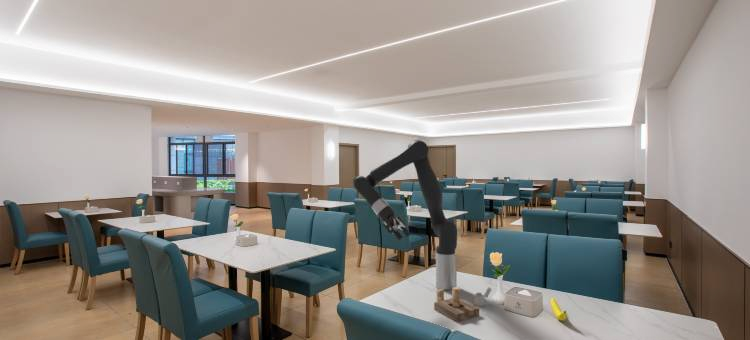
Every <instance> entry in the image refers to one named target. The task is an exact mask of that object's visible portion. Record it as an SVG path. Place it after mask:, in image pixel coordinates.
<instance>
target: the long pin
mask: <svg viewBox="0 0 750 340" xmlns="http://www.w3.org/2000/svg"><path fill="white" fill-rule="evenodd" d="M451 291H452V293H451V294H452V295H451V296H452V297H451V298H452V307H453V308H455V309H457V308H460V299H461V288H460V287H454V288H452V290H451Z"/></svg>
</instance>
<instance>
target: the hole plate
mask: <svg viewBox="0 0 750 340" xmlns="http://www.w3.org/2000/svg"><path fill="white" fill-rule="evenodd" d="M433 310H434V311H436V312H437V313H440V314H441V315H442V316H445V317H447V318H448V319H450V320H452V321H454V322H456V323H459V322H462V321H465V320H468V319H469V320H470V319H472V318H475V317H480V307H479V306H478V307H477V306H476V305H473V304H471V303H469V302H467V301H465V300H463V299H461V298H460V308H457V309H455V308H453V307H452V297H451V298H447V299H444V300H443V301H434V305H433Z"/></svg>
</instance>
